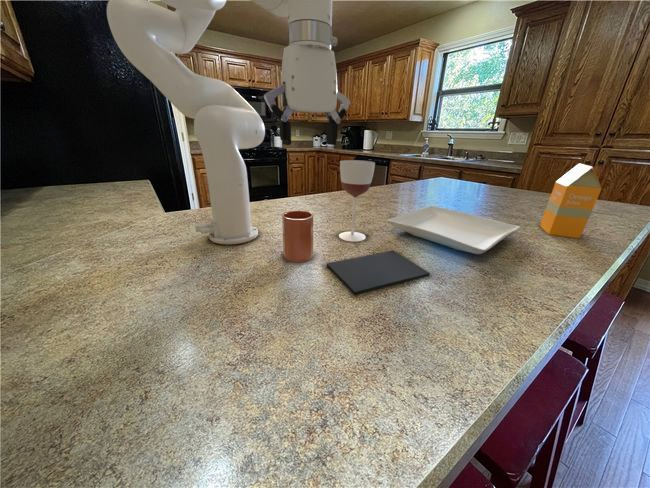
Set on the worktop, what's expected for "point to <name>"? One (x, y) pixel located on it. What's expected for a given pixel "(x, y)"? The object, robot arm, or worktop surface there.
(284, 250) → the cup
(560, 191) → the orange juice
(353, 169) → the wineglass
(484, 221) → the square plate
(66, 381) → the worktop surface
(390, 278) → the mat
